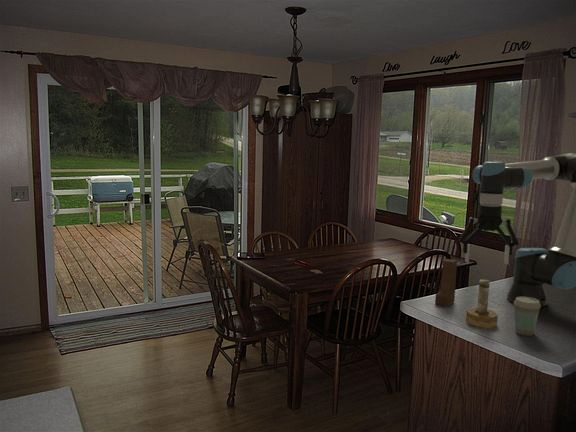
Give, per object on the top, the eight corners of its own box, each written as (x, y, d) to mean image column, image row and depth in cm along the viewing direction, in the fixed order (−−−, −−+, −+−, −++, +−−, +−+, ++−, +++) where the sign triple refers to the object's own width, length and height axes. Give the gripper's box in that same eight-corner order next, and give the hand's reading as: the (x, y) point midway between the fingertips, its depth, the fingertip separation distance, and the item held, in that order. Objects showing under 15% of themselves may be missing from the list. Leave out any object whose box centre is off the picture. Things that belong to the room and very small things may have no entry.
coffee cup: (536, 339, 164) (540, 305, 162) (509, 333, 168) (512, 300, 166) (539, 331, 171) (542, 298, 169) (512, 326, 175) (515, 294, 174)
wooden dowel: (485, 321, 180) (488, 279, 177) (487, 324, 176) (490, 282, 174) (475, 320, 180) (478, 279, 178) (477, 323, 177) (480, 281, 175)
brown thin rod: (470, 308, 194) (470, 307, 194) (473, 308, 194) (473, 307, 194) (476, 317, 183) (476, 316, 183) (480, 317, 183) (480, 316, 183)
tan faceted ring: (491, 318, 182) (492, 308, 182) (499, 328, 173) (500, 317, 172) (464, 316, 184) (465, 306, 183) (470, 326, 174) (470, 315, 174)
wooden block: (445, 307, 195) (448, 264, 192) (434, 304, 198) (437, 262, 195) (454, 302, 201) (457, 260, 198) (444, 299, 204) (447, 258, 202)
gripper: (524, 204, 174) (519, 261, 177) (452, 202, 178) (449, 258, 181) (531, 207, 167) (526, 266, 170) (456, 205, 170) (452, 263, 173)
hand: (486, 262), depth 175 cm, fingers open, 13 cm apart
